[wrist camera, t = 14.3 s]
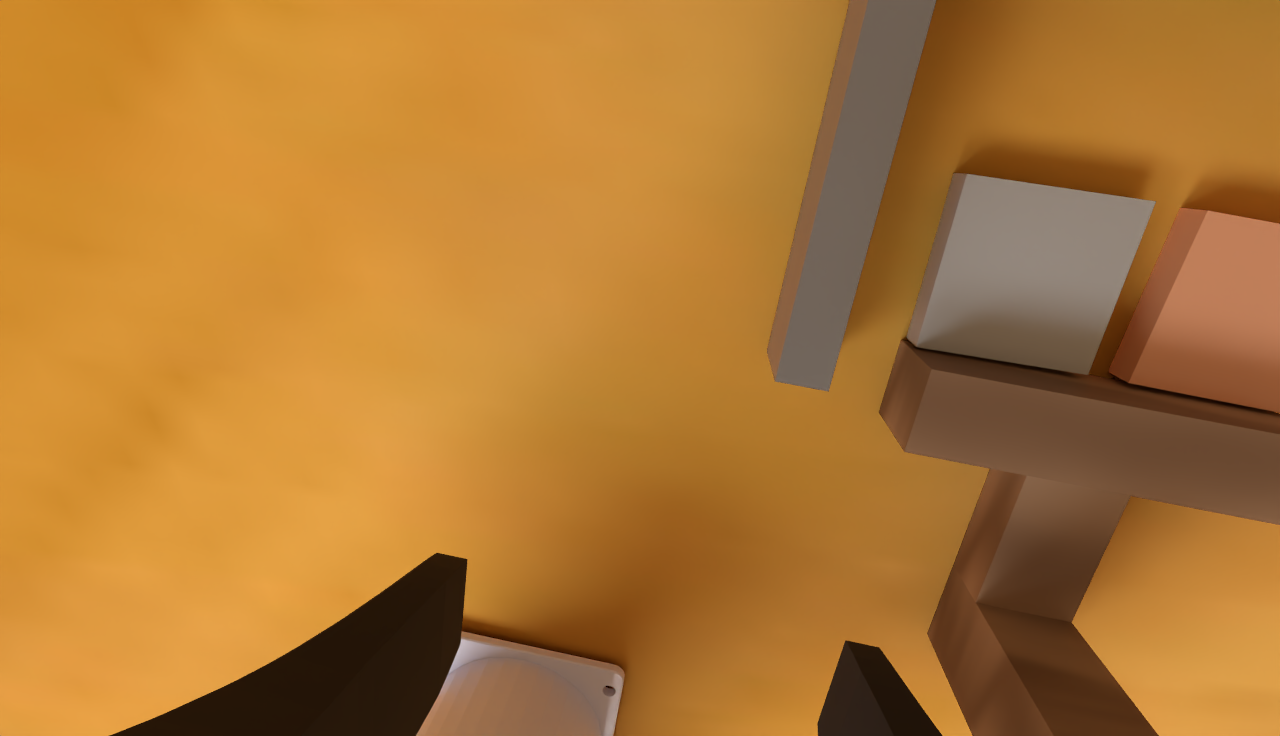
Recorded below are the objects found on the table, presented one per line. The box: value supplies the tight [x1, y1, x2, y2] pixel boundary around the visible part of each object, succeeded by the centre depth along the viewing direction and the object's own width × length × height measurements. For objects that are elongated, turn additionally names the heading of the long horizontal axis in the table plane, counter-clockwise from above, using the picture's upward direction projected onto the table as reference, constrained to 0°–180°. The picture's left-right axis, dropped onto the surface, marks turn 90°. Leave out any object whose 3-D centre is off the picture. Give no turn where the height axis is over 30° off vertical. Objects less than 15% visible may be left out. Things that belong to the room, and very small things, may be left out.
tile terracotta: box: [1108, 208, 1280, 413], centre depth 18 cm, size 5×5×2 cm
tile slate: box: [906, 173, 1156, 375], centre depth 19 cm, size 5×5×2 cm
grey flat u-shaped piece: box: [767, 0, 936, 391], centre depth 16 cm, size 14×19×3 cm
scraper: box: [879, 340, 1280, 736], centre depth 17 cm, size 10×11×9 cm
